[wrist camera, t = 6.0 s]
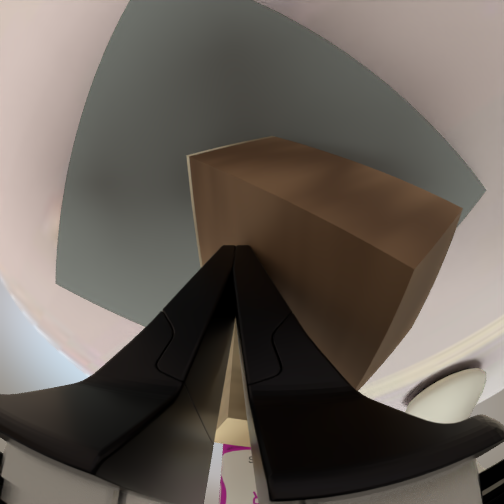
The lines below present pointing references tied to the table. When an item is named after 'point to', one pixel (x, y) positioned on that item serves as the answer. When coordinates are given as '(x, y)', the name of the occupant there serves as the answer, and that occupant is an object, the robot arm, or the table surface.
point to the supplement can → (237, 476)
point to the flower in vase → (450, 398)
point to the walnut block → (326, 240)
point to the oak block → (233, 402)
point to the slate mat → (216, 137)
